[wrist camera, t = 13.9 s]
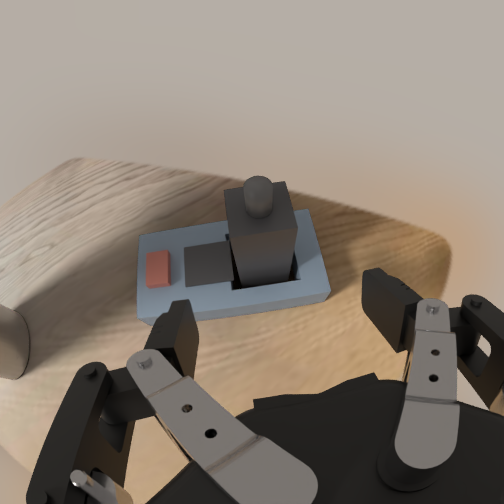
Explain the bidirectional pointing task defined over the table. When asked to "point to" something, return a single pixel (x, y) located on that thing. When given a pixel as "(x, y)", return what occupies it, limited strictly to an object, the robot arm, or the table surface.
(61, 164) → the table surface
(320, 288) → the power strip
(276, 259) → the black plug
